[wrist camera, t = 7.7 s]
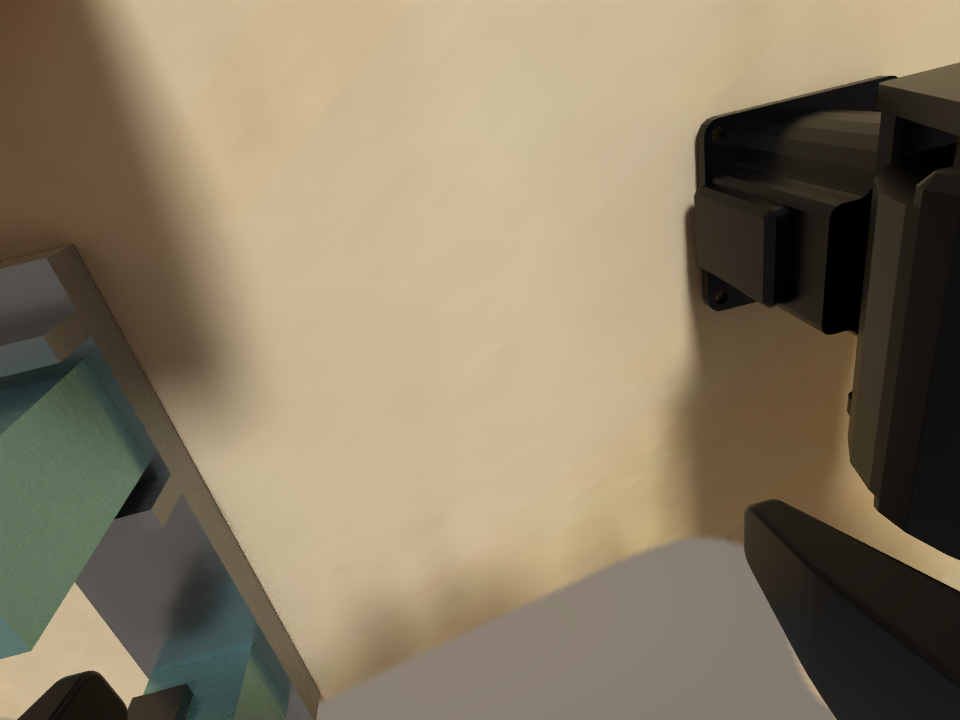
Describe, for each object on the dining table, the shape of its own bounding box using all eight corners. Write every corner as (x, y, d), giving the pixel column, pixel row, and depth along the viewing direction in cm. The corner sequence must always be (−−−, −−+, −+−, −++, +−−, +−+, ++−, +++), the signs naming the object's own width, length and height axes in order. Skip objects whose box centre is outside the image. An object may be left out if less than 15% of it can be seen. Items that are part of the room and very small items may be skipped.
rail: (72, 244, 17) (-180, 374, 9) (319, 692, 27) (291, 929, 19) (-97, 284, 17) (-492, 450, 9) (214, 720, 27) (146, 971, 19)
